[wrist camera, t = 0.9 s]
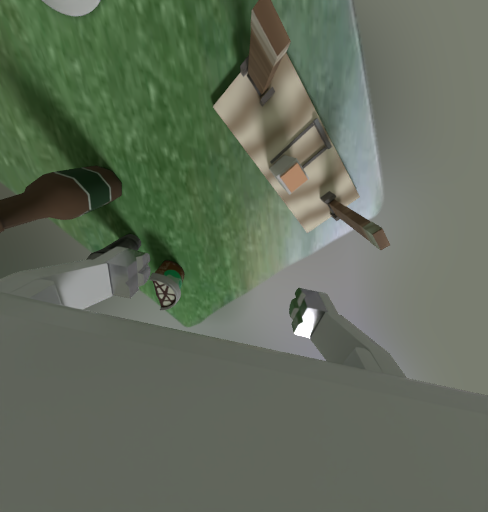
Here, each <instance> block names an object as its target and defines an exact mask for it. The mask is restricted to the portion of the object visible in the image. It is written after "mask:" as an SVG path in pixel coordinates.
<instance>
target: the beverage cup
mask: <svg viewBox="0 0 488 512" xmlns="http://www.w3.org/2000/svg"><path fill="white" fill-rule="evenodd" d="M140 246H141V241H140V239H139V238H138V237H137V236H135V235H133V234H128V235H126V236H124V237H122V238H120V239H118V240H117V241H115V242H113V243H112V244H110V245H108V246H107V247H105V248H103V249H101V250H99V251H97V252H94V253H91V254H90V256H89V257H88V258H87V259H86V260H88V259H91V260H93V259H95V258H97V257H99V256H101V255H103V254H104V253H106V252H108V251H110V250H112V249H113V248H115V247H124V248H128V249H132V250H136V251H138V249H139V247H140Z"/></svg>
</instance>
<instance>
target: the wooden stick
mask: <svg viewBox="0 0 488 512" xmlns="http://www.w3.org/2000/svg"><path fill="white" fill-rule="evenodd" d="M327 205H328V207H329V208H330V210H331V212H332V213H333V214H335V215H336V216H338V217H339V218H340V219H341V220H343V221H344V222H345V223H347V224H348V225H349V226H350V227H352V228H353V229H354V230H356V231H357V232H358V233H360V234H361V235H362V236H363V237H365V238H366V239H367V240H369V241H370V242H371V243H372V244H373V245H374V246H376V247H377V248H378V249H380V250H382V249H384V248H386V247H388V246H389V245H390V243H389V241H388V240H387V237H386V235H385V233H384V231H383V229H382V228H381V227H379V226H378V225H376V224H375V223H373V222H370V221H369V220H367V219H366V218H364V217H362V216H361V215H359V214H357V213H356V212H354V211H353V210H351V209H349V208H348V207H346V206H344V205H343V204H341V203H340V202H338V201H336V200H335V199H333V200H332V201H331V202H329V203H328V204H327Z"/></svg>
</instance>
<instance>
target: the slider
mask: <svg viewBox="0 0 488 512" xmlns="http://www.w3.org/2000/svg"><path fill="white" fill-rule="evenodd" d="M269 170H270V171H271V173H272V174H273V175H274V177H275V178H276V180H277V181H278V182H279V184H280V185H281V186H282V187H283V188H284V189H285V190H286V191H287V193H288V194H289V195H290V194H291V193H293V192H294V191H295V190H296V189H298V188H299V187H300V186H301V185H303V184H304V183H305V182H306V181H307V180H309V177H308V175H307V174H306V172H305V171H304V169H303V168H302V166H301V164H300V163H299V161H298V160H297V158H293V157H290V156H287V155H284V156H282V157H281V158H280V159H279V160H278V161H277V162H276V163H275V164H274V165H273V166H272V167H270V168H269Z"/></svg>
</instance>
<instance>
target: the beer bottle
mask: <svg viewBox="0 0 488 512" xmlns="http://www.w3.org/2000/svg"><path fill="white" fill-rule="evenodd" d="M121 195H122V183H121V182H120V180H119V179H118V178H117V177H116V176H115V174H114V173H113V172H112V171H111V170H108V169H105V168H102V167H99V166H89V167H83V168H76V169H70V170H64V171H57V172H52V173H48V174H44V175H42V176H41V177H39V178H38V179H37V180H35V181H34V182H33V183H31V184H30V185H29V186H27V187H26V189H25V192H24V193H22V194H19V195H15V196H12V197H9V198H5V199H2V200H0V233H1V232H2V231H4V229H7V228H11V227H14V226H17V225H21V224H24V223H27V222H31V221H34V220H37V219H42V218H48V217H51V218H56V219H61V220H67V219H73V218H76V217H79V216H81V215H83V214H86V213H88V212H90V211H92V210H94V209H97V208H99V207H101V206H103V205H106V204H108V203H110V202H111V201H113V200H115V199H116V198H118V197H120V196H121Z"/></svg>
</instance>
